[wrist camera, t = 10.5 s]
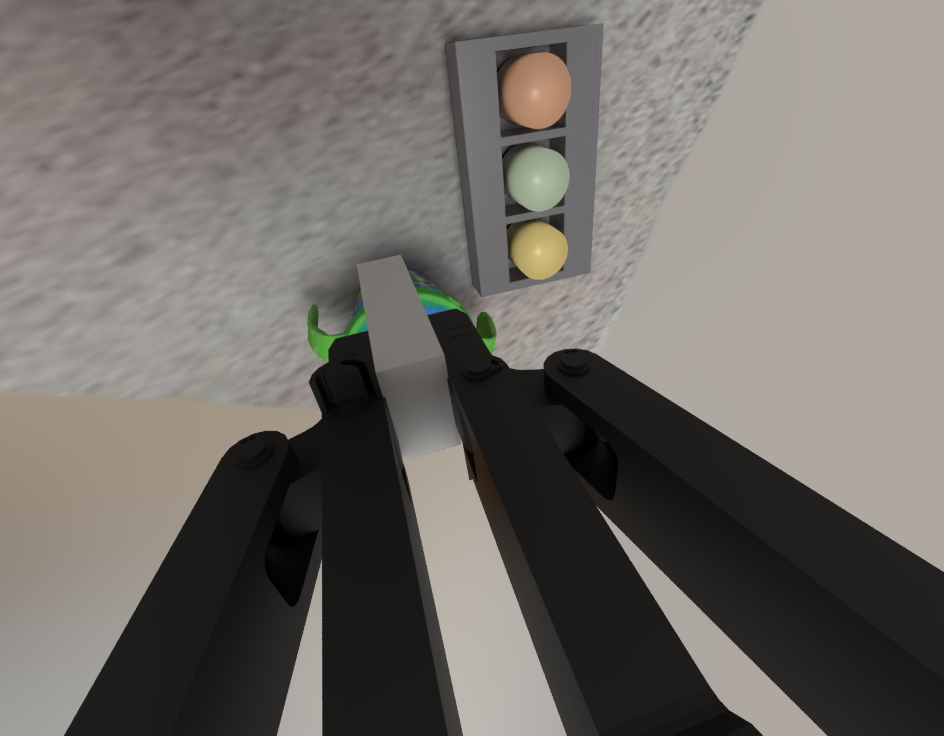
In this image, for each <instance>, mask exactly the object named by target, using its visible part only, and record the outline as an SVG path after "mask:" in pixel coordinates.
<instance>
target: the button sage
mask: <svg viewBox="0 0 944 736" xmlns="http://www.w3.org/2000/svg"><path fill="white" fill-rule="evenodd" d="M502 166H503V183H504V193H505V194H506V195H507V196H509V197H510V198H512V199H513V200H515V201H516V202H518V203H519V204H521V205H522V206H524V207H525V208H527V209H529V210H531V211H536V212H541V211H546V210H548V209H551V208H552V207H554V206H555V205H556V204H557V203H559V201H560V200H561V199H562V198H563V196H564V194H565V193H566V190H567V188H568V184H569V177H570V176H569V168H568V165H567V162H566V160H565V159H564V158H563V156H562V155H561V154H559V153H558V152H556V151H554V150H551V149H548V148H545V147H541V146H538V145H535V144H532V143H521V144H518V145H516V146H514V147H513V148H511V149H510V150H509V151H508V152H507V153H506V155H505V156H504V158H503V159H502Z"/></svg>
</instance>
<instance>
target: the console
mask: <svg viewBox="0 0 944 736" xmlns="http://www.w3.org/2000/svg"><path fill="white" fill-rule="evenodd" d="M602 41H603V23H602V24H594V25H586V26H578V27H570V28H562V29H554V30H546V31H538V32H530V33H522V34H514V35H506V36H498V37H490V38H482V39H474V40H466V41H458V42H452V43H449V44H445V48H446V57H447V65H448V74H449V83H450V92H451V100H452V109H453V118H454V126H455V135H456V144H457V153H458V161H459V170H460V179H461V187H462V196H463V205H464V214H465V222H466V231H467V240H468V248H469V257H470V266H471V275H472V283H473V286H474V287H475V289H476V290H477V292H478V293H479V294H480V296H481V297H485V296H489V295H494V294H498V293H502V292H507V291H511V290H516V289H520V288H524V287H529V286H533V285H538V284H542V283H547V282H551V281H555V280H560V279H564V278H569V277H573V276H578V275H582V274H586V273H590V269H591V250H592V231H593V212H594V193H595V174H596V155H597V136H598V117H599V98H600V79H601V60H602ZM549 44H550V53H551V54H554V55H556V56H557V57H559V58H560V59H561V60H562V61H563V62H564V64H565V65H566V67H567V69H568V71H569V74H570V78H571V96H570V100H569V103H568V106H567V108H566V110H565V112H564V113H563V115H562V116H561V117H560V119H559V120H558V121H557V122H555V123H554V124H553V125H551V126H549V127H547V128H543V129H533V128H529V127H528V128H522V129H516V130H510V131H504V132H500V118H499V101H498V85H497V69H496V53H495V51H503V50H511V49H519V48H526V47H534V46H542V45H549ZM544 139H550V149H551V150H554V151H556V152H558V153H559V154H561V155H562V156H563V158H564V159H565V160H566V162H567V165H568V168H569V176H570V177H569V184H568V188H567V190H566V193H565V194H564V196H563V198H562V199H561V200H560V201H559V203H557V204H556V205H555V206H554V207H552V208H551V209H548V210H546V211H541V212H536V211H531V210H529V209H527V208H525V207H524V206H522V205H521V204H516V205H511V206H505V199H504V183H503V166H502V150H501V147H502V146H508V145H514V144H520V143H526V142H532V141H538V140H544ZM545 216H550V225H551V226H552V227H554V228H555V229H557V230H558V231H560V232H561V233H562V234H563V235H564V236H565V238H566V240H567V244H568V254H567V258H566V260H565V263H564V264H563V266H562V267H561V269H560V270H559V271H558V272H557V273H556V274H554V275H553V276H551V277H549V278H546V279H542V280H535V279H531V278H529V277H528V276H526V275H525V274H524V273H523V272H522V271H521V270H520V269H519V268H518V267H516V268H512V269H509V264H508V248H507V231H506V224H510V223H515V222H520V221H525V220H530V219H535V218H540V217H545Z"/></svg>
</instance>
